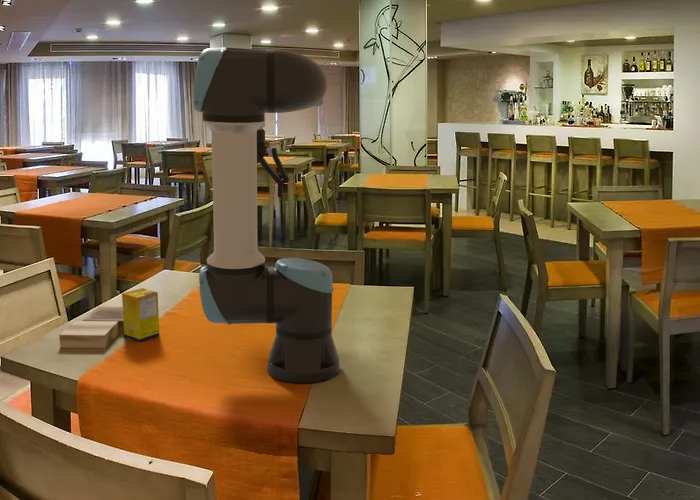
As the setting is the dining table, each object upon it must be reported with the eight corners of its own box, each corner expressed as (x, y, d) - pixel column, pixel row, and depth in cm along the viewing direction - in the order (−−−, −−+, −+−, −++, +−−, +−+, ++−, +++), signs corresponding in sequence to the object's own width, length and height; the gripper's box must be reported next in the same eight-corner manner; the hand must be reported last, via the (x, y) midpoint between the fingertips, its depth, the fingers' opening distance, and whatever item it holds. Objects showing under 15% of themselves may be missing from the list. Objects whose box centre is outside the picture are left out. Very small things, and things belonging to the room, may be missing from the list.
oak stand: (105, 348, 151) (104, 335, 151) (60, 347, 151) (59, 334, 150) (118, 333, 161) (118, 321, 160) (76, 332, 161) (75, 320, 160)
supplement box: (144, 330, 163) (142, 287, 161) (160, 336, 160) (158, 291, 158) (123, 337, 158) (121, 292, 156) (139, 342, 155) (137, 297, 153)
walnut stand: (129, 332, 161) (129, 320, 161) (83, 332, 161) (82, 320, 160) (142, 318, 172) (141, 307, 172) (99, 317, 172) (98, 306, 171)
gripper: (299, 129, 180) (298, 207, 184) (205, 126, 179) (207, 205, 184) (297, 129, 172) (296, 211, 177) (199, 127, 172) (201, 209, 176)
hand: (251, 208), depth 180 cm, fingers open, 13 cm apart
